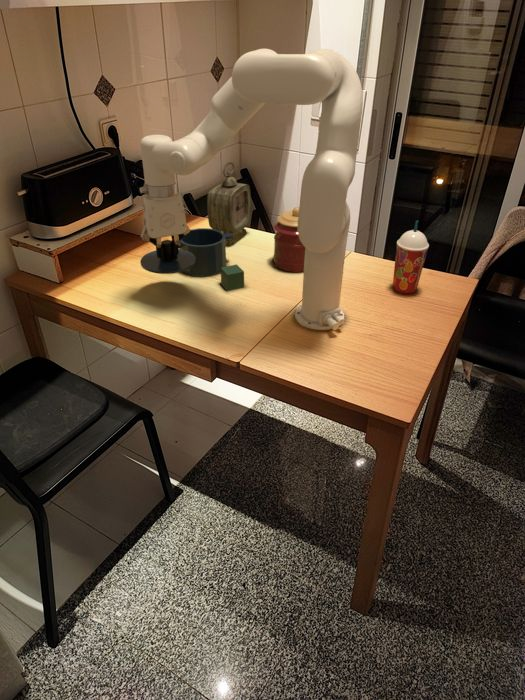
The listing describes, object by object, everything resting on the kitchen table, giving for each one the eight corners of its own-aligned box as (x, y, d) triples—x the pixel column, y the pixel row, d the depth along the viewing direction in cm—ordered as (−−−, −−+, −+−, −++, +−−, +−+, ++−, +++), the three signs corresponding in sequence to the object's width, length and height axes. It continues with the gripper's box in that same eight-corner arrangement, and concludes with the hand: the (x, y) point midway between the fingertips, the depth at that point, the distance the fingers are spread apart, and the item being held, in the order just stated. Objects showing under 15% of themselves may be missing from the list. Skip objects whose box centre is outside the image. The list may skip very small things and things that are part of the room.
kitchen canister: (324, 266, 158) (328, 209, 148) (290, 276, 152) (292, 218, 142) (298, 251, 167) (301, 197, 157) (265, 260, 161) (265, 205, 151)
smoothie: (424, 288, 147) (439, 220, 135) (409, 299, 142) (423, 229, 130) (399, 279, 151) (410, 213, 140) (383, 289, 146) (394, 221, 135)
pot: (241, 269, 156) (241, 239, 150) (181, 282, 149) (178, 251, 143) (223, 252, 166) (222, 224, 160) (166, 263, 159) (163, 234, 153)
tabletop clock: (231, 248, 169) (229, 170, 154) (207, 243, 172) (203, 166, 158) (251, 232, 180) (250, 158, 165) (228, 228, 183) (225, 155, 168)
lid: (204, 269, 136) (202, 247, 132) (149, 280, 130) (146, 257, 127) (185, 248, 146) (183, 227, 143) (134, 258, 141) (131, 236, 137)
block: (244, 287, 147) (244, 271, 144) (228, 290, 145) (227, 274, 142) (237, 280, 150) (236, 264, 147) (221, 283, 148) (220, 267, 146)
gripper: (132, 198, 121) (142, 270, 132) (198, 189, 127) (202, 258, 138) (124, 189, 127) (134, 258, 137) (187, 181, 133) (192, 248, 143)
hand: (168, 257), depth 137 cm, fingers closed on lid, 2 cm apart
